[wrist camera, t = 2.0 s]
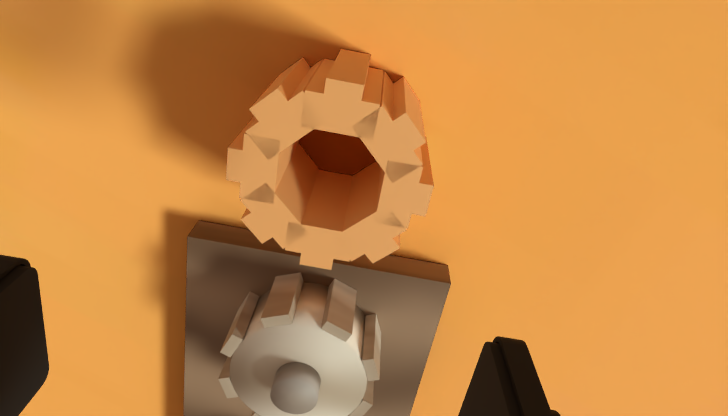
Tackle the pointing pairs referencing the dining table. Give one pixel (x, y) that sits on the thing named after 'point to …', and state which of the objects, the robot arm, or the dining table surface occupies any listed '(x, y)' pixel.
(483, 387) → the robot arm
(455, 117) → the dining table surface
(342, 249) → the orange gear
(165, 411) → the dining table surface
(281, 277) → the gear board
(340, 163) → the dining table surface
